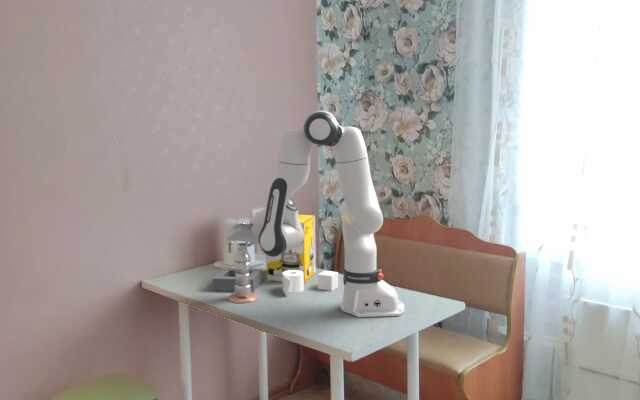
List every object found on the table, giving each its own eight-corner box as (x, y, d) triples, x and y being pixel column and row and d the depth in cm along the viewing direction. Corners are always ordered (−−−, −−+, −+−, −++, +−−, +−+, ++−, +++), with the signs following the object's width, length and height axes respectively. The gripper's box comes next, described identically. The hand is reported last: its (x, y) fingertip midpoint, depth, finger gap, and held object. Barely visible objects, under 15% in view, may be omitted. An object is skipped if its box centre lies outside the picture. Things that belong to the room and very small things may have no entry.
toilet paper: (286, 296, 214) (286, 279, 213) (280, 288, 225) (280, 270, 223) (307, 294, 216) (307, 277, 215) (300, 286, 227) (300, 269, 226)
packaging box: (315, 272, 246) (315, 215, 242) (304, 283, 230) (303, 222, 226) (280, 269, 250) (279, 213, 246) (266, 280, 234) (265, 220, 231)
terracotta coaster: (261, 294, 217) (261, 292, 217) (254, 303, 206) (254, 302, 206) (233, 293, 218) (233, 291, 218) (224, 302, 208) (224, 301, 208)
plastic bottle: (235, 300, 209) (233, 247, 206) (233, 294, 215) (231, 242, 212) (253, 298, 211) (251, 245, 207) (250, 292, 217) (249, 241, 214)
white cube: (317, 289, 223) (317, 274, 222) (324, 284, 228) (324, 270, 227) (331, 291, 220) (331, 276, 219) (338, 286, 225) (338, 272, 225)
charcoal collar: (262, 280, 234) (262, 268, 233) (253, 292, 219) (253, 279, 219) (224, 279, 236) (224, 267, 235) (213, 290, 221) (212, 278, 221)
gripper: (241, 230, 195) (217, 249, 202) (283, 235, 210) (259, 253, 217) (237, 214, 198) (213, 234, 205) (278, 221, 213) (255, 238, 220)
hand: (237, 244), depth 211 cm, fingers open, 8 cm apart
